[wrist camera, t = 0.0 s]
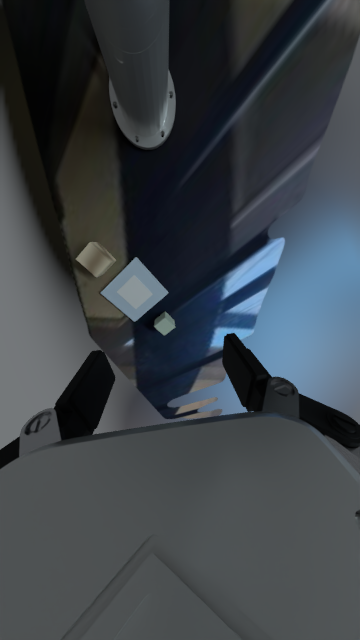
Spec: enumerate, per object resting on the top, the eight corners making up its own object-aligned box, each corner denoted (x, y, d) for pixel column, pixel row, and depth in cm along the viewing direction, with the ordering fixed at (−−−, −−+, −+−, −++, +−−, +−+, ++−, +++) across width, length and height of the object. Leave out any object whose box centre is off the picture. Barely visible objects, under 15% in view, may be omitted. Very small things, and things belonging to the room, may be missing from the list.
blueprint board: (101, 292, 45) (100, 293, 44) (136, 257, 41) (135, 257, 40) (135, 320, 50) (134, 322, 50) (168, 292, 47) (168, 293, 46)
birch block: (85, 257, 40) (75, 259, 36) (98, 242, 38) (90, 241, 34) (103, 274, 42) (96, 277, 38) (116, 260, 41) (110, 262, 37)
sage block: (155, 319, 51) (154, 326, 47) (165, 311, 50) (165, 317, 46) (164, 328, 53) (164, 335, 49) (174, 320, 52) (175, 327, 48)
